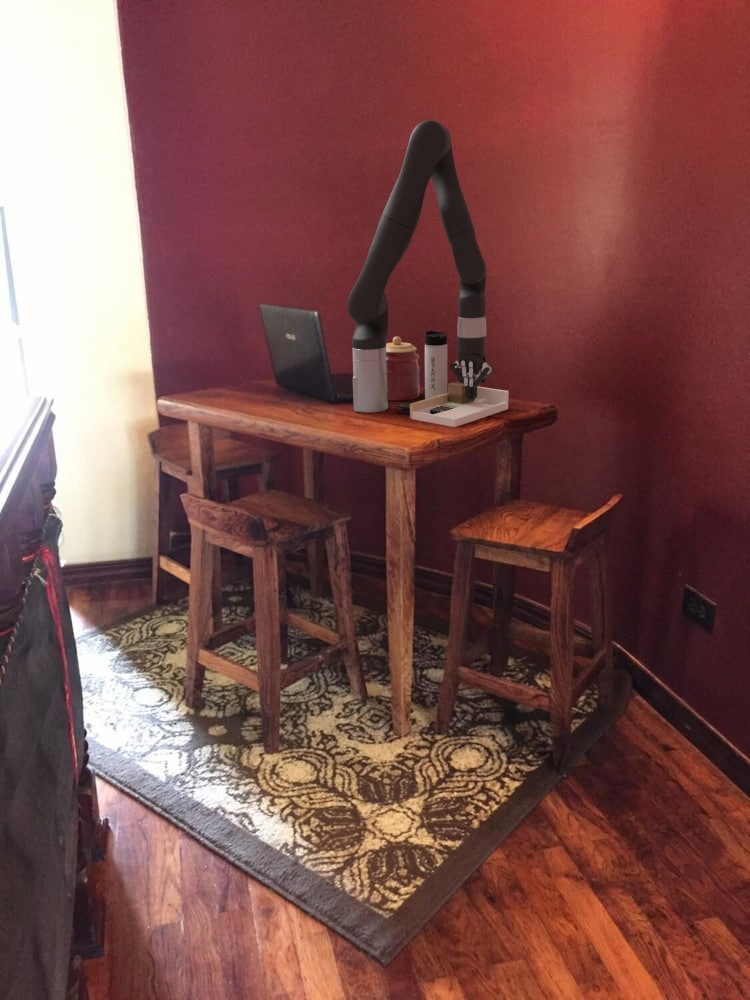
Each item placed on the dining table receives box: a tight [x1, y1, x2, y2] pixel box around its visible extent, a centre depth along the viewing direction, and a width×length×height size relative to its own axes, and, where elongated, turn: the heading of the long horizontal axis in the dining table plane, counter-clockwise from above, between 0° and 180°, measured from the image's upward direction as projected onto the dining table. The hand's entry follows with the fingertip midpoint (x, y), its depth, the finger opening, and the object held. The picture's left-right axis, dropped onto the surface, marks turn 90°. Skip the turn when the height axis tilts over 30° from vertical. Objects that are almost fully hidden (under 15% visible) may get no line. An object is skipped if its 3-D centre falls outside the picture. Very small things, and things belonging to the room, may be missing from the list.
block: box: [447, 381, 474, 404], centre depth 213 cm, size 5×5×5 cm
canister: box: [386, 336, 421, 402], centre depth 228 cm, size 13×13×18 cm
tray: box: [409, 386, 510, 428], centre depth 208 cm, size 24×15×5 cm, turn 137°
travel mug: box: [424, 330, 448, 400], centre depth 218 cm, size 6×7×20 cm
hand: (471, 399), depth 208 cm, fingers closed
